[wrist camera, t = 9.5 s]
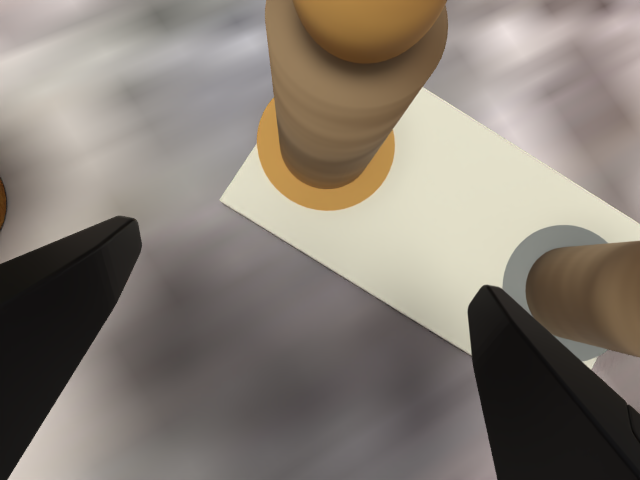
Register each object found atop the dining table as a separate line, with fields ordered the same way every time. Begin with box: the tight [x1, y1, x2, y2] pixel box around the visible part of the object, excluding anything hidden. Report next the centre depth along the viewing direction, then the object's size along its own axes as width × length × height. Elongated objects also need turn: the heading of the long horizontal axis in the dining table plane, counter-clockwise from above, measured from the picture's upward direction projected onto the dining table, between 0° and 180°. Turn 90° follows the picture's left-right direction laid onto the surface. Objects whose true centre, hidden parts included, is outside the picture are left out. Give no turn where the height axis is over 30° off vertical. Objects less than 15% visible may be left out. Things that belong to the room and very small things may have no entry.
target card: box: [220, 87, 640, 369], centre depth 19 cm, size 11×22×1 cm, turn 59°
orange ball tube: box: [265, 0, 448, 189], centre depth 12 cm, size 5×5×12 cm
